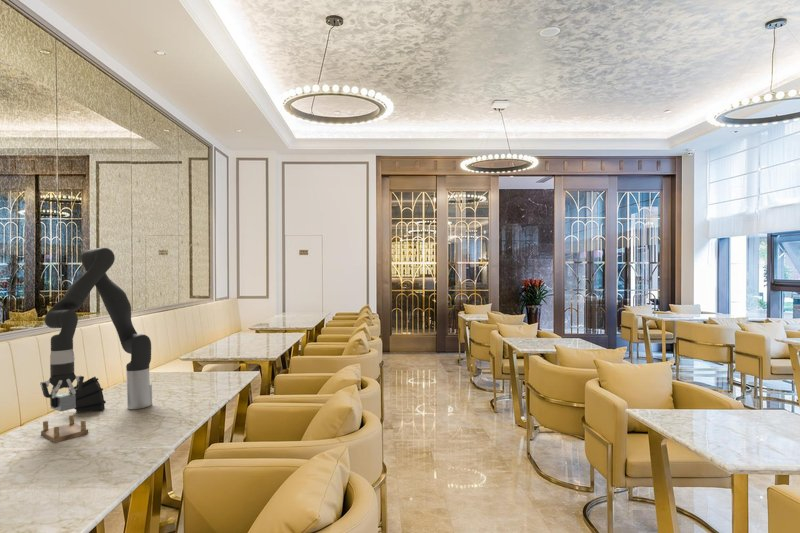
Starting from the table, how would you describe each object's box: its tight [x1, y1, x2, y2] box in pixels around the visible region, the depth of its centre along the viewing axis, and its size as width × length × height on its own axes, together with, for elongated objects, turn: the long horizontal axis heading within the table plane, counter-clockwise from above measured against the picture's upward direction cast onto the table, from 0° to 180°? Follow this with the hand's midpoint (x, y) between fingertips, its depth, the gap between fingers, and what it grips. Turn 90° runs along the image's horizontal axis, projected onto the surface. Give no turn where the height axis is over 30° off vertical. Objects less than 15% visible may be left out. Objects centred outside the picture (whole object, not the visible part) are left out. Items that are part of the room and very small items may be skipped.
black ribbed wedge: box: [68, 376, 106, 413], centre depth 210 cm, size 4×13×15 cm, turn 98°
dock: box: [40, 414, 89, 443], centre depth 180 cm, size 11×15×5 cm
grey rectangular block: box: [50, 391, 76, 412], centre depth 180 cm, size 5×9×5 cm, turn 56°
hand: (63, 405), depth 180 cm, fingers closed on grey rectangular block, 5 cm apart
